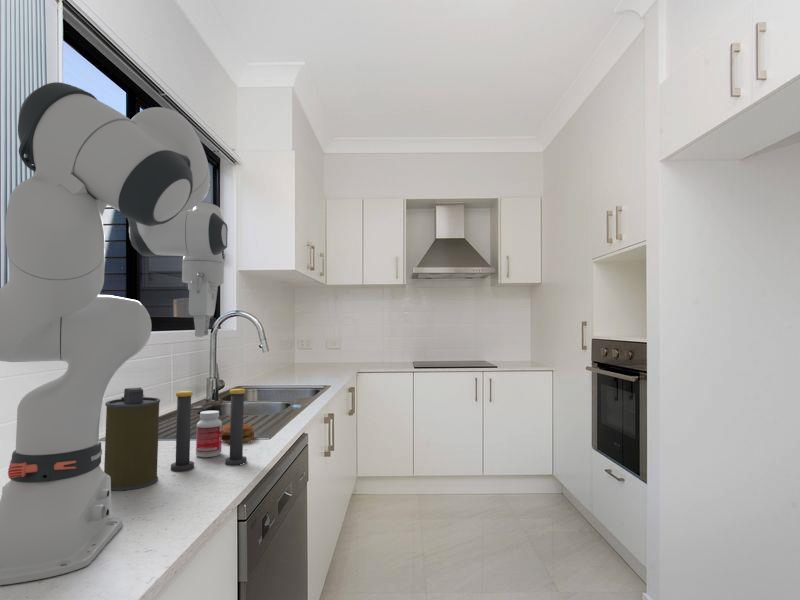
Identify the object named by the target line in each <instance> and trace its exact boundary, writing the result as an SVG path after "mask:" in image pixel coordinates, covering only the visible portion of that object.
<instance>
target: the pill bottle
mask: <svg viewBox="0 0 800 600" xmlns="http://www.w3.org/2000/svg"><path fill="white" fill-rule="evenodd" d="M199 418H200V420H199V421H198V422H197V423H196V439H195V446H196V447H195V455H196V456H197V457H198V458H213V457H214V458H215V457H218V456H220V455H221V453H222V442H223V440H222V427H223V422H222V420H221V419H220V411H219V410H204V411H200V413H199Z"/></svg>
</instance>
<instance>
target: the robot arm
mask: <svg viewBox="0 0 800 600" xmlns="http://www.w3.org/2000/svg"><path fill="white" fill-rule="evenodd" d="M18 113H19V114H18V121H17V122H18V123H17V135H18V140H19V143H20V145H19V147H18V154H19V157H20V160H21V161H22V163H23V164H24V165H25V166H26V167H27V168H28V169H29V170H31V171H33V172H34V174H33V175H32V176H30V177H29V178H27V179H25V180H23V181H22V182H20V183H19V184H17V186H16V187H15V188H13V190H12V192H11V193H10V196H9V199H8V204H7V207H6V215H5V229H4V230H5V245H6V252H7V258H8V265H9V280H8V281H7V282H6V283H5V284H4V285H3V286H2V287H0V362H7V363H28V362H30V363H31V362H32V363H34V362H36V363H37V362H56V361H57V362H61V361H62V362H66V363H67V364H68V366H67V370H66V371H65V372H64V373H63V374H62V375H61V376H59V377H57V378H56V379H53V380H50V381H49V382H46V383H43V384H42V385H39V386H38V387H35V388H34V389H32V390H31V391H29V392H27V394H24V396H23V397H22V398H21V400H20V401H19V404H18V405H17V410H16V433H15V434H16V435H15V450H13V452H12V454H11V458H10V461H9V466H8V471H7V476H8V478H9V479H10V480H9V481H8V482H7V483H5V485H3V486H2V489H1V497H0V586H3V585H13V584H17V583H18V584H20V583H25V582H26V583H27V582H31V581H36V580H37V581H38V580H41V579H47V578H51V577H55V576H60V575H63V574H67V573H71V572H73V571H77V570H79V569H82V568H85V567H87V566H88V565H90V564H91V563H92V562H93V560H94V559H95V558H96V557H97V556H98V554H99V553H101V551H102V550H103V549H104V548H105V546H106V545H107V544H108V543H109V542H110V540H111V539H113V538H114V537H115V534H117V532H119V530H120V529H121V528H122V527H123V520H122V518H120V517H115V516H112V490H111V478H110V476H109V475H108V474H106V473H105V472H104V469H102V468H101V466H100V465H101V463H102V454H103V449H102V442H101V441H100V440H99V436H100V423H101V421H100V420H101V412H102V405H103V404H102V403H103V399H104V395H105V391H106V390H107V387H108V385H109V384H110V382H111V380H112V378H113V377H114V375H115V373H117V371H119V369H120V368H121V367H122V366H123V365H124V364H125V363H126V362H128V360H130V359H132V358H133V357H134V356H136V355H137V354H139V353H140V352H141V351H142V350H143V349H144V348H145V346H146V345H147V344H148V342H149V339H150V337H151V334H152V319H151V316H150V314H149V312H148V309H147V308H146V307H145V305H143V304H142V303H141V302H140V301H139V300H136V299H131V298H127V297H121V296H115V295H111V294H100V293H101V291H102V290H103V287H104V283H105V264H106V263H105V262H106V236H105V228H104V221H103V219H102V218H103V215H104V212H105V210H106V207H107V206H109V207H111V208H112V209H115V210H117V211H119V213H120V214H121V215H122V216H123V217H125V218H126V219H127V221H128V234H129V235H128V236H129V240H130V245H131V246H132V248H134V250H136V251H137V252H138V253H139V254H141V255H142V256H144V257H160V256H167V257H168V256H171V257H172V256H173V257H174V256H175V257H177V256H178V257H183V258H182V264H181V265H182V266H181V269H182V270H181V282H182V283H184V284H187V290H188V292H189V295H188V314H189V315H190V316H193V323H194V336H195V337H197V338H203V337H204V336H208V335H209V327H210V321H211V320H210V319H211V318H210V317H214V315H215V311H216V304H217V296H218V291H219V290H218V287H220V286H221V284H222V285H223V284H224V281H225V280H224V279H225V278H224V276H225V275H224V273H225V267H224V266H225V260H224V258H223V252H224V251H225V250H226V249H227V248H228V231H229V230H228V228H229V227H228V225H227V223H226V222H225V220H224V216H223V212H222V209H221V208H220V207H219V206H218V205H216V204H214V203H211V202H207V201H206V202H205V201H204V199H205V198H206V197H207V195H208V193H209V190H210V186H211V185H210V184H211V171H210V166H209V162H208V158H207V154H206V152H205V149H204V146H203V144H202V141H201V140H200V138H199V137H198V134H197V133H196V131H195V129H194V128H193V126H192V125H191V123H190V122H189V121H188V119H187V118H185V116H184V115H182V114H180V113H179V112H177V111H176V110H173V109H170V108H166V107H161V106H159V107H158V106H155V107H148V108H145V109H143V110H141V111H139V112H137V113H136V114H135V115H134V116H133V117H132V118H131V119H130V118H129V117H127V116H126V115H125V114H123V113H121V112H120V111H118V110H116V109H114V108H113V107H111V106H110V105H107V104H105V103H104V102H103V101H100V100H98V98H97V97H95V95H93V94H92V93H91V92H88V91H86V90H84V89H82V88H79V87H77V86H75V85H71V84H69V83H64V82H59V81H58V82H57V81H56V82H55V81H54V82H49V83H46V84H44V85H42V86H40V87H38V88H36V89H35V90H32V92H31V93H30V94H29V95H27V97H26V98H25V99H24V101H23V102H22V104H21V106H20V110H19V112H18ZM203 201H204V202H203Z"/></svg>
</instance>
